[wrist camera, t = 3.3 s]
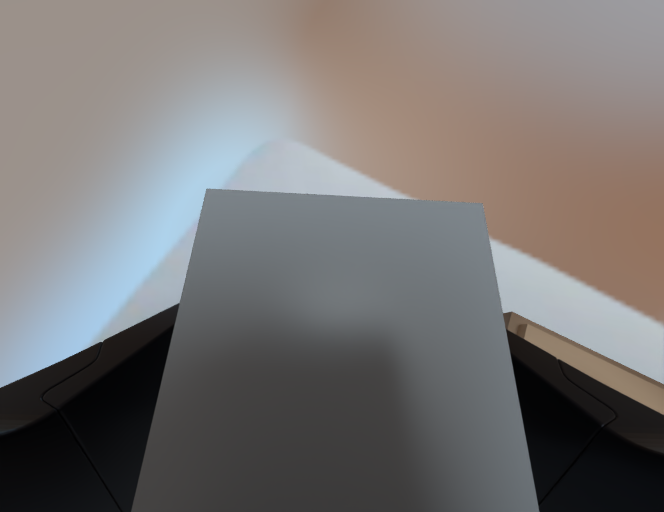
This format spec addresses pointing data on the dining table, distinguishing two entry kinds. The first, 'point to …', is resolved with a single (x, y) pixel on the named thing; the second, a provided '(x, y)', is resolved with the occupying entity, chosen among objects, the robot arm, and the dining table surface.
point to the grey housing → (338, 364)
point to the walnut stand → (590, 362)
